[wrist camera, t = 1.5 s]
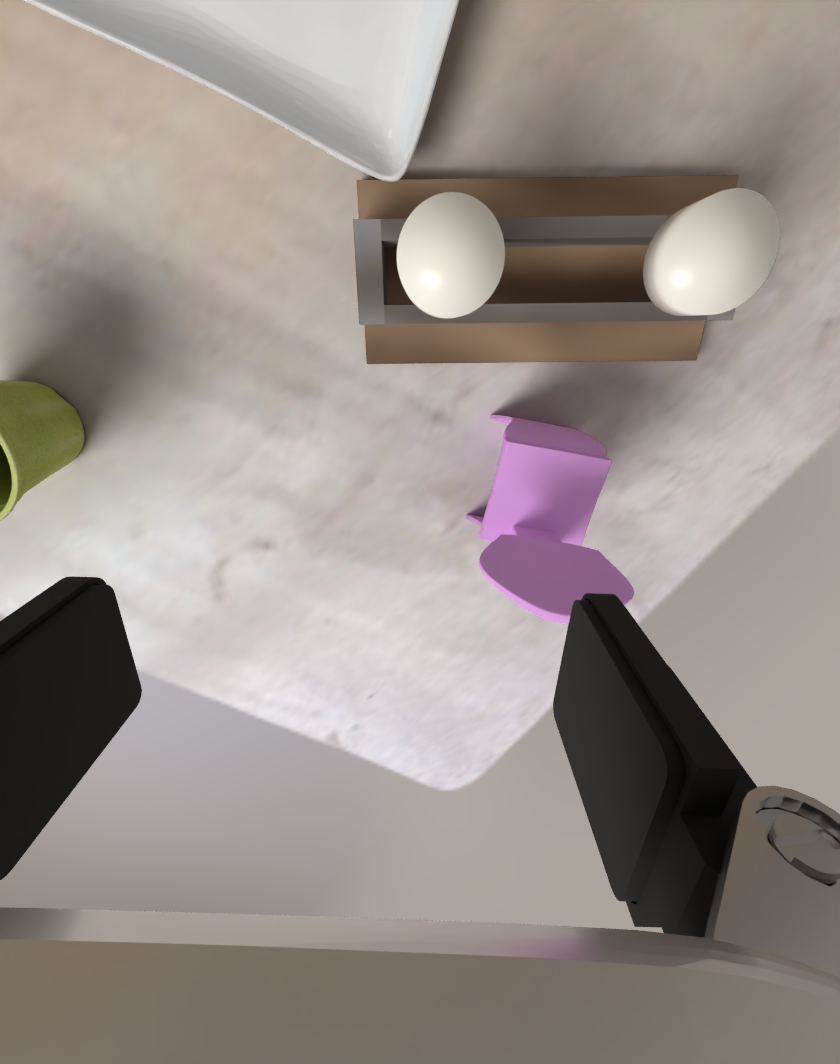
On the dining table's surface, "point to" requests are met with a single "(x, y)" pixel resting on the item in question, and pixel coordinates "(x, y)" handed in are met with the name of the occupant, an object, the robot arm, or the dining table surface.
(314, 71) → the salad plate
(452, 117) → the dining table surface
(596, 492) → the toy chair
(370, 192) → the mount
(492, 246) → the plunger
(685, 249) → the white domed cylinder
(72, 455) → the plant pot
